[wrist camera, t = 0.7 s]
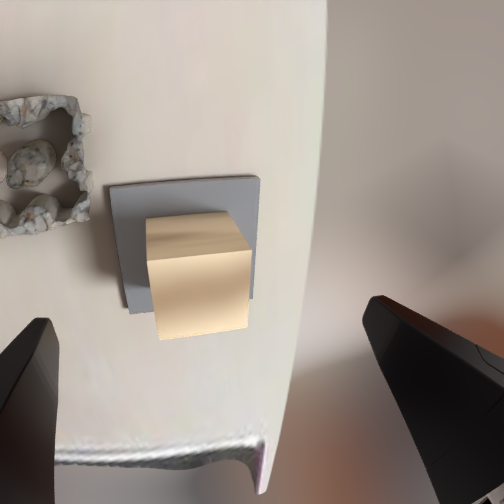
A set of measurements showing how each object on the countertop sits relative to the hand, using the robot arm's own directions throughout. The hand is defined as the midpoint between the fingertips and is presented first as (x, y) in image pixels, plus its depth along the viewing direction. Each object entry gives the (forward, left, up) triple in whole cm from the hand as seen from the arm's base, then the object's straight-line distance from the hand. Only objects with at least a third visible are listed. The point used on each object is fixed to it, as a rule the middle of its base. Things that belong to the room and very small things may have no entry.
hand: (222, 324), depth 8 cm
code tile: (-1, -4, -13) cm, 13 cm away
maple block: (-1, -4, -12) cm, 13 cm away
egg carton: (-8, +7, -13) cm, 17 cm away
